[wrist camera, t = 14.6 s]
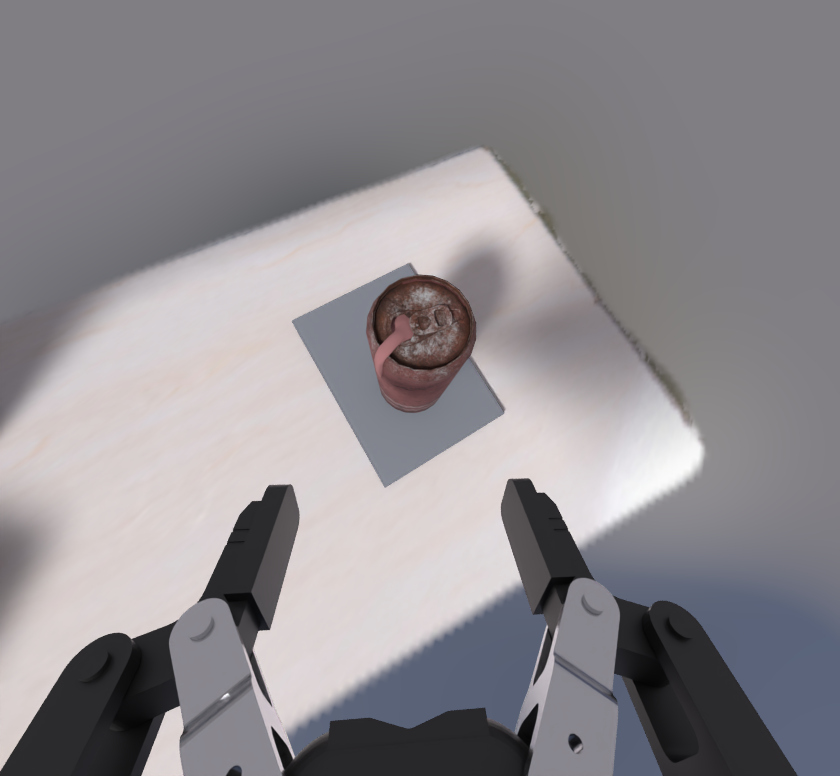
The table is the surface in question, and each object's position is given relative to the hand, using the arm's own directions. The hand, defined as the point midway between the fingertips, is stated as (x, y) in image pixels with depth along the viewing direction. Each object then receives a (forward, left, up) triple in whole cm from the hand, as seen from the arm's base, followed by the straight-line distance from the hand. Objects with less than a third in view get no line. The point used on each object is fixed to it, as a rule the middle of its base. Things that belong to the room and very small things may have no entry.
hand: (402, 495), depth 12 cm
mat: (+5, +9, -17) cm, 20 cm away
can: (+5, +7, -17) cm, 19 cm away
